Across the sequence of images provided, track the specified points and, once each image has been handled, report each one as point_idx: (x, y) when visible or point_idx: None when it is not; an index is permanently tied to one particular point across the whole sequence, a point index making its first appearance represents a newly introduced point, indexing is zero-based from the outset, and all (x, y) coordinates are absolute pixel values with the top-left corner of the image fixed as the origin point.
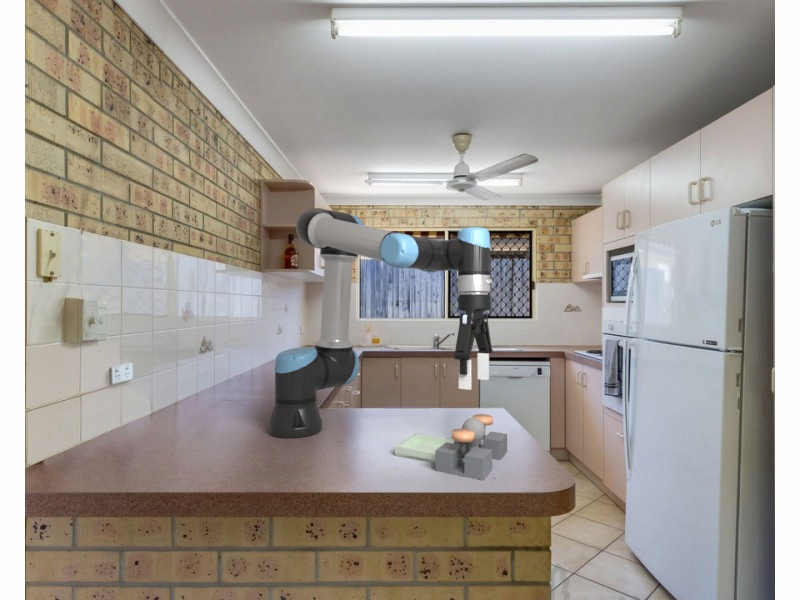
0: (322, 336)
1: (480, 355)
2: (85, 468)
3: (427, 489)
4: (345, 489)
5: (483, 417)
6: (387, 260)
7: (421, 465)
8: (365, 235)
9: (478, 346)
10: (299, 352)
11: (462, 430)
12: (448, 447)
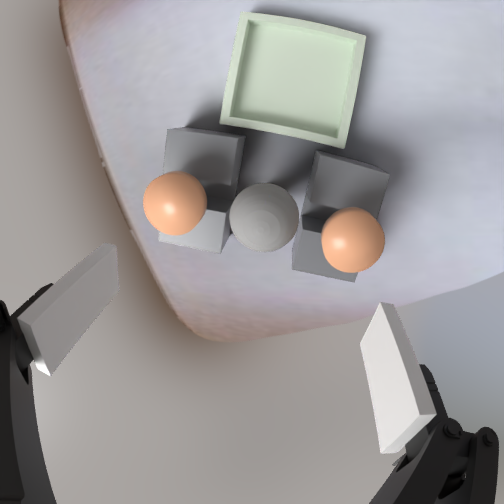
0: None
1: (403, 416)
2: None
3: (106, 142)
4: (74, 33)
5: (346, 247)
6: None
7: (203, 90)
8: None
9: (413, 466)
10: None
11: (183, 201)
12: (198, 153)
